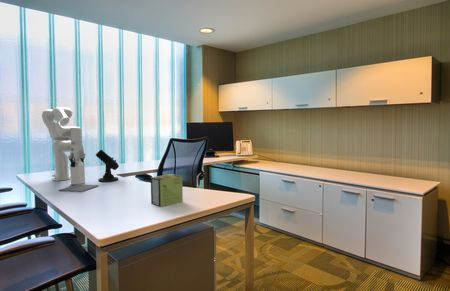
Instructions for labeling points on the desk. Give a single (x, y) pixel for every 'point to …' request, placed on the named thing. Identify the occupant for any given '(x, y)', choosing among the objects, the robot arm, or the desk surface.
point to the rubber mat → (78, 188)
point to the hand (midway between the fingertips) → (77, 166)
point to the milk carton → (77, 172)
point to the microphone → (107, 167)
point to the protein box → (166, 190)
